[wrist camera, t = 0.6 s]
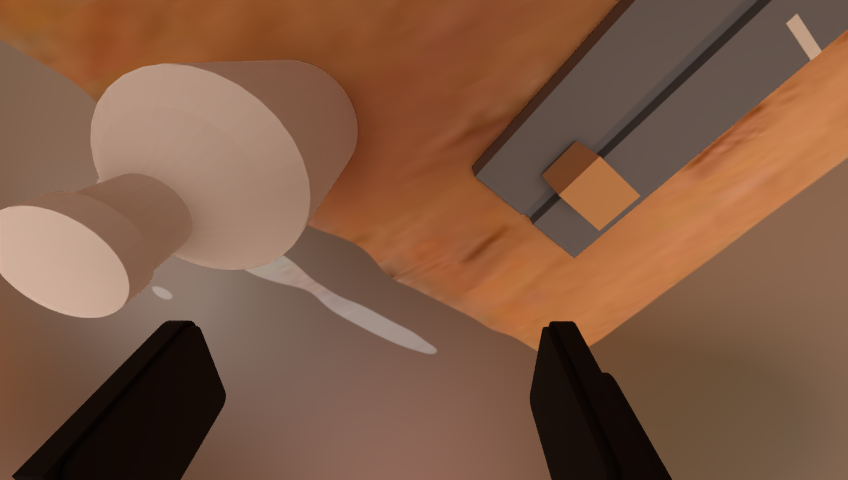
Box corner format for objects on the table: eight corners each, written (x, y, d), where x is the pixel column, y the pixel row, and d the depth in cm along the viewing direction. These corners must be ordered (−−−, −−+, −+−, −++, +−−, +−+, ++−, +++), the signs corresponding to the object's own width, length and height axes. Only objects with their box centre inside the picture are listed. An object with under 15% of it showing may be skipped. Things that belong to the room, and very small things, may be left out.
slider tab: (569, 136, 32) (600, 156, 27) (604, 170, 34) (640, 195, 28) (537, 169, 34) (558, 195, 28) (571, 200, 35) (599, 230, 29)
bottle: (337, 41, 31) (97, 26, 9) (375, 171, 36) (287, 363, 14) (213, 73, 32) (-261, 131, 10) (268, 194, 38) (37, 400, 16)
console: (800, -202, 23) (848, -234, 21) (887, -37, 27) (937, -46, 25) (471, 167, 36) (475, 176, 33) (564, 244, 40) (574, 258, 37)
